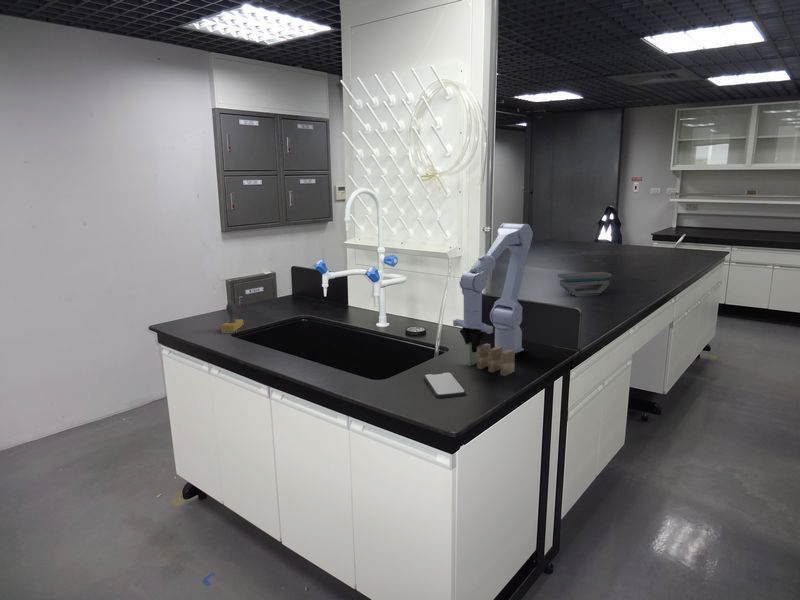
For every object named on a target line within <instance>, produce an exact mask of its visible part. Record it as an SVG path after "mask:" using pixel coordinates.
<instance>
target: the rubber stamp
mask: <svg viewBox="0 0 800 600" xmlns="http://www.w3.org/2000/svg"><path fill="white" fill-rule="evenodd" d="M225 309H226V311H227V314H228V315H229V320H227V321H226V322H224V323H222V324H221V325H220V330H221V331H235V330H237V329H238V328H240V327H241V326H242V325H244V320H243V318H242V319H238V318H237V319H235V318H234V316H235V312H236V305H235V304H234V303H233V302H228V303H227V304H226V307H225ZM244 326H245V325H244ZM221 331H220V332H221Z"/></svg>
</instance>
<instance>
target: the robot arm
mask: <svg viewBox="0 0 800 600" xmlns="http://www.w3.org/2000/svg"><path fill="white" fill-rule="evenodd" d="M496 236H497V237H496V238H495V240H494V241H493V243H492V244H491V246H490V248H489V249H488V251H487V253H486V254H481V255H480V256H479V257H477V258H478V259H477V260H476V262H475V263H474V264H473V266H472V267H471V268H470V269H469V271H466V272H464V273H463V274H462V275H461V277H460V281H459V287H460V289H461V294H462V295H463V319H459V318H458V319H457V318H456V319H454V320H453V321H452V322H453V323H452V325H453V326H452V327H461V329H459V333H460V335H461V336H462V338H463V341H464V344H465V345H466V344H468V343H471V342H472V352H477V347H478V346H480V344H481V342H482V338H483V337H484V335H485V333H486V334H489V335H490V334H492V333H494V348H495V347H497V346H500V347H502V352H504V351H507V350H509V349H512V350H515V354H517V353H520V352H522V351H524V350H525V349H524V348H523V347H522V345H523V344H522V340H523V338H522V337H523V332H522V328H521V327H520V325H521V323H522V322H523V306H522V305H521V303H519V301H518V299H519V294H520V290H521V286H522V285H521V284H522V280H523V277H524V273H525V267H526V263H527V259H528V254H529V251H530V248H531V244H532V240H533V236H534V232H533V229H532V228H531V226H530V224H528V223H509V222H503V223H502V224H500V226H499V228H498V229H497V235H496ZM506 249H509V251H510V252H511V253H510V259H509V263H508V266H507V271H506V277H505V281H504V284H503V290H502V293H501V294H502V295H501V297H499V298H498V299H497V300H496V301H494V304H493V306H492V309H491V311H490V312H489V319H490V321H491V323H492V324H493V326H492V325H489V324H486V323H484V322H482V318H483V317H482V315H483V313H482V312H483V307H482V306H483V303H482V302H483V290H485V288H486V286H487V281H488V278H489V275H490V274H491V273H492V272H493V270H494V269H495V268H496V260H497V259H498V258H499V257H500V255H501V254H502V253H503V252H504V251H505V250H506Z"/></svg>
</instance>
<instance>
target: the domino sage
mask: <svg viewBox="0 0 800 600" xmlns="http://www.w3.org/2000/svg"><path fill="white" fill-rule="evenodd" d="M475 364H476V365H477V352H472V342H471V343H468V344H465V366H468V365H469V367H471V366H474V365H475Z"/></svg>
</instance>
